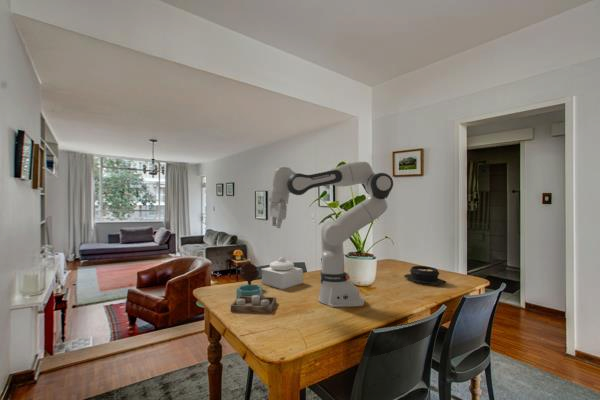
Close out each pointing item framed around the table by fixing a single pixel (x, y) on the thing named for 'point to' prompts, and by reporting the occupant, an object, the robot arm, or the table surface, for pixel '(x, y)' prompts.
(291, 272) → the butter dish
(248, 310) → the tray
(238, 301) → the pebble
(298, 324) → the table surface
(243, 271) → the ice cream bowl
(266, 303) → the pebble
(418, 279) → the black hat
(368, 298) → the table surface
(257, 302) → the pebble
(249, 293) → the bowl
